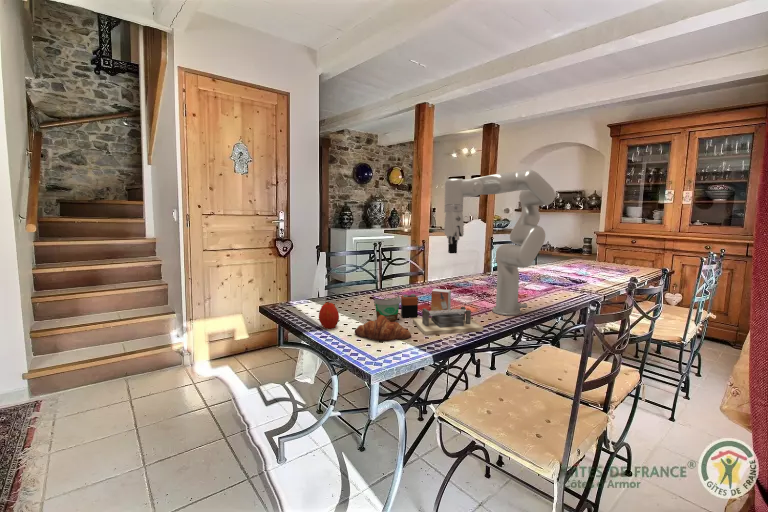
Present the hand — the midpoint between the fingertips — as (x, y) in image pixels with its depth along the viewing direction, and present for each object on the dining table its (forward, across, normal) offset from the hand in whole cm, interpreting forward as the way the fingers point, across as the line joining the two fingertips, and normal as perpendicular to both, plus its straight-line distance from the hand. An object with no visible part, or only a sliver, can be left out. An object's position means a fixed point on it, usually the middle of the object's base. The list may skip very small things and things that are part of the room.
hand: (452, 253), depth 155 cm
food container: (+29, +4, +26) cm, 39 cm away
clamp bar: (+24, -8, +5) cm, 25 cm away
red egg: (+29, +1, +52) cm, 60 cm away
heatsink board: (+29, -8, +5) cm, 31 cm away
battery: (+29, +9, +16) cm, 35 cm away
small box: (+29, +12, 0) cm, 32 cm away
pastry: (+30, -13, +33) cm, 46 cm away
